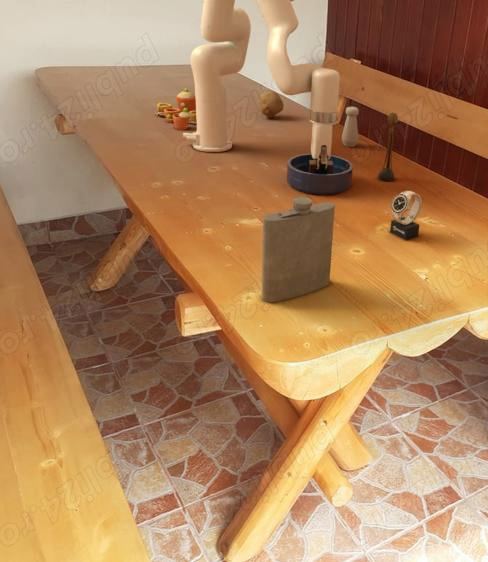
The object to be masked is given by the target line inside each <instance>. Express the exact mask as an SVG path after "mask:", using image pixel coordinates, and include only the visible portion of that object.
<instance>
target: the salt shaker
mask: <svg viewBox="0 0 488 562" xmlns="http://www.w3.org/2000/svg"><path fill="white" fill-rule="evenodd" d="M359 111H360V110H359V108H358V107H356V106H348V107H346V108H345V114H346V119H345V121H344V122H345V123H344V126H343V131H342V135H341V142H342V144H343V146H344V147H346V148H347V147H348V148H354V147H356V146H357V144H358V142H359V139H360V138H359V131H358V130H359V129H358V122H357V121H358V120H357V116H358V115H359Z"/></svg>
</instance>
